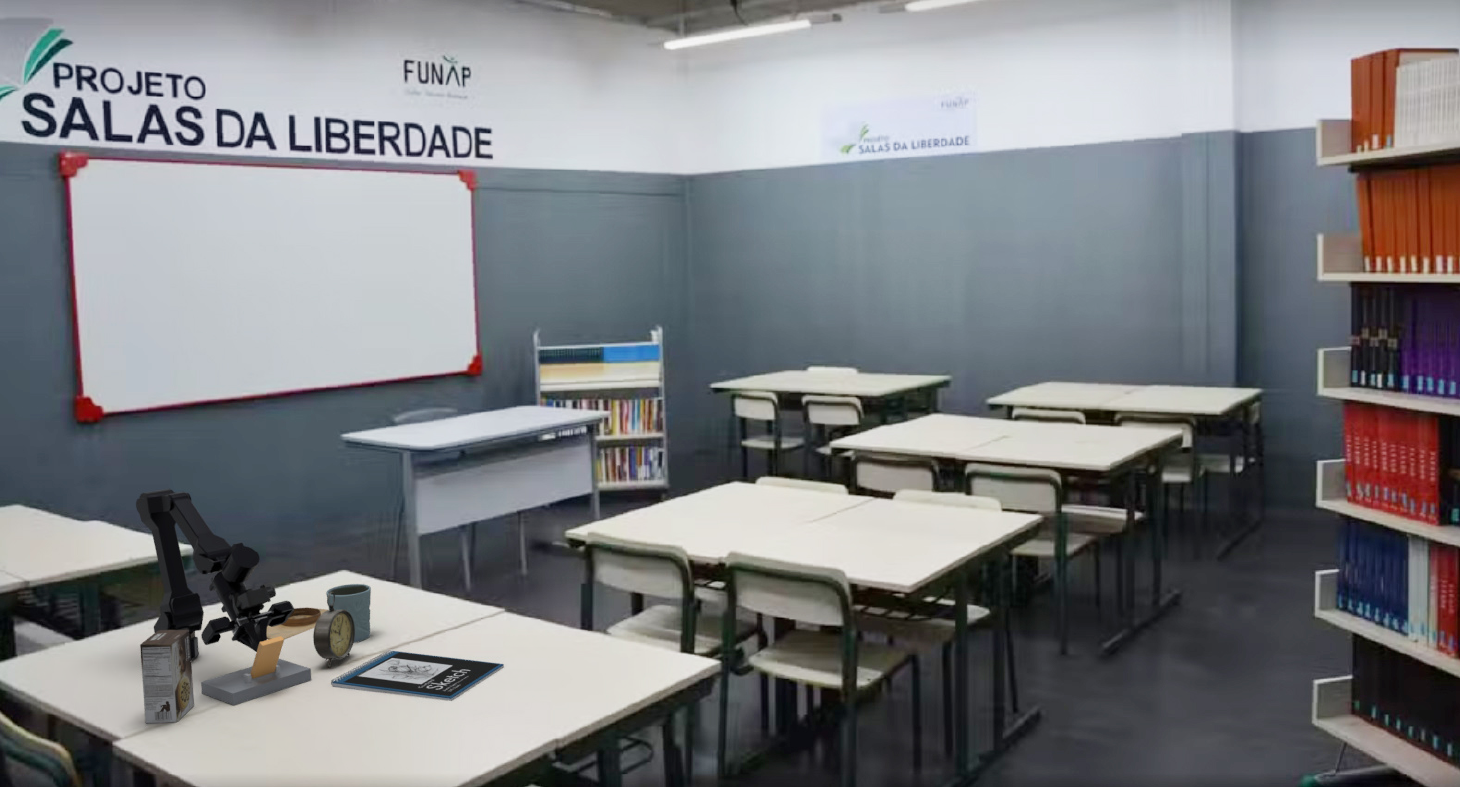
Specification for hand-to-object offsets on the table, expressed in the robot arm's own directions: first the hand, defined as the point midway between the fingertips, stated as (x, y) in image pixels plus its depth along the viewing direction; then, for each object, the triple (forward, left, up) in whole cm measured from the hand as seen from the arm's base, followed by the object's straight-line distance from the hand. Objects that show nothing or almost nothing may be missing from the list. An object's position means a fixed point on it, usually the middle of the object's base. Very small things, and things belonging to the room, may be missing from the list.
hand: (265, 654), depth 241 cm
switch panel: (-3, +3, -8) cm, 9 cm away
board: (-6, +49, -9) cm, 50 cm away
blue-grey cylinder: (+11, +34, -8) cm, 37 cm away
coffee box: (-16, -11, -8) cm, 21 cm away
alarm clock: (+10, +16, -8) cm, 21 cm away
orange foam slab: (-1, +1, -5) cm, 5 cm away
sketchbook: (+31, +4, -8) cm, 32 cm away
